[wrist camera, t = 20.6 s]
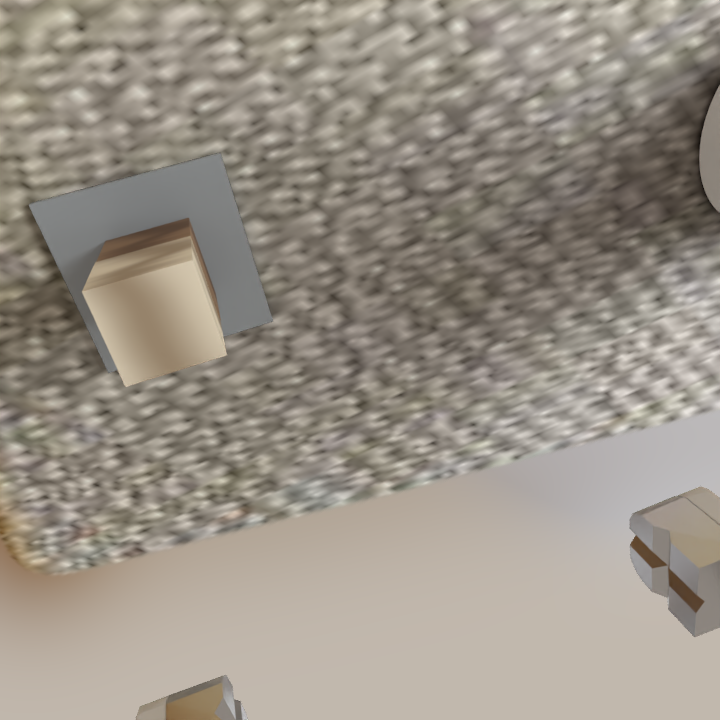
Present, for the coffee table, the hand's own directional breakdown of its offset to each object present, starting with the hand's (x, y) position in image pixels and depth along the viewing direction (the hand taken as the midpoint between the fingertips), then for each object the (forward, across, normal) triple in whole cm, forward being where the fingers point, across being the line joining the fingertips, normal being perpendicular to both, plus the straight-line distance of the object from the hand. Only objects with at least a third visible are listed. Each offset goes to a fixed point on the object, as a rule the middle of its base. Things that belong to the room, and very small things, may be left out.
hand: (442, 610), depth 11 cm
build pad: (+31, +6, 0) cm, 31 cm away
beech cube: (+25, +6, 0) cm, 26 cm away
